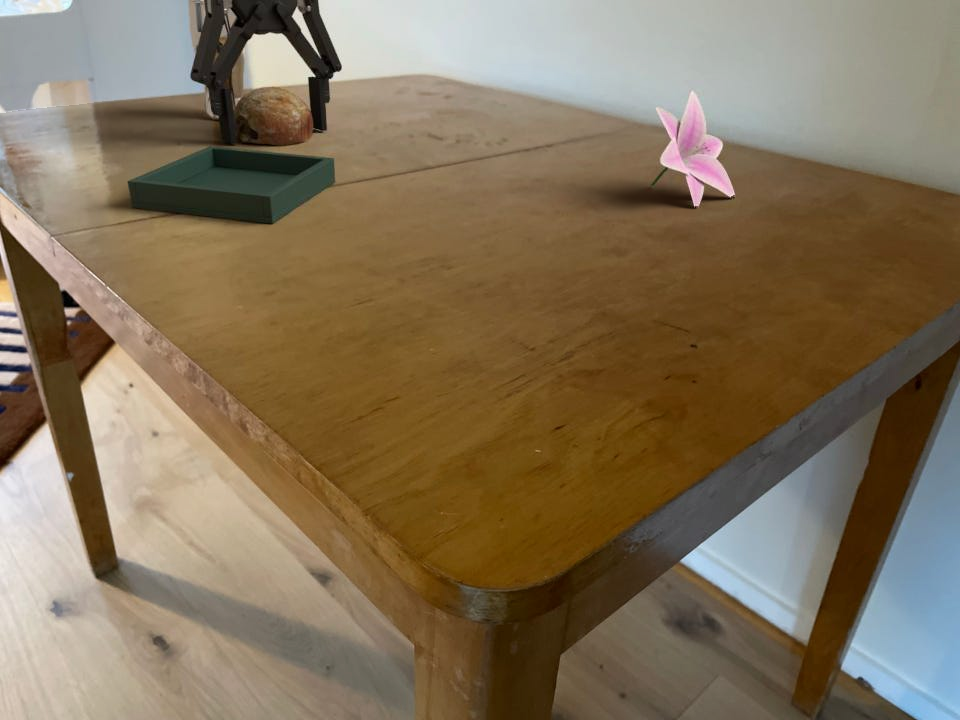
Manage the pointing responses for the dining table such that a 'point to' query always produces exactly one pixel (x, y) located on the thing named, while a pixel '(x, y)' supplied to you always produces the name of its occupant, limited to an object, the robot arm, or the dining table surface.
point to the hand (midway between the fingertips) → (276, 135)
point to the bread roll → (272, 117)
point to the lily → (693, 151)
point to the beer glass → (237, 72)
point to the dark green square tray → (233, 184)
